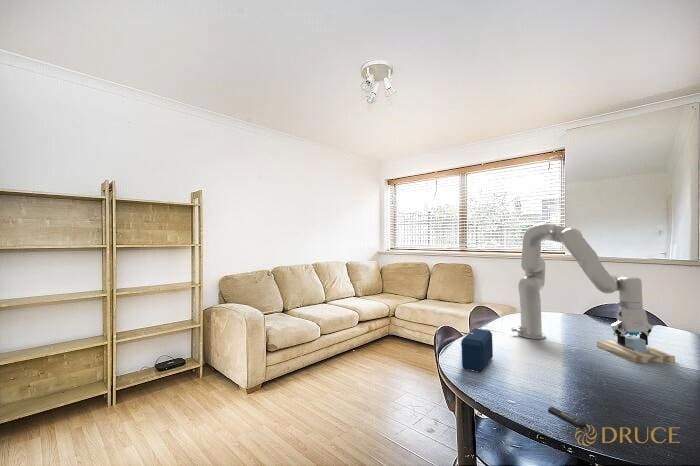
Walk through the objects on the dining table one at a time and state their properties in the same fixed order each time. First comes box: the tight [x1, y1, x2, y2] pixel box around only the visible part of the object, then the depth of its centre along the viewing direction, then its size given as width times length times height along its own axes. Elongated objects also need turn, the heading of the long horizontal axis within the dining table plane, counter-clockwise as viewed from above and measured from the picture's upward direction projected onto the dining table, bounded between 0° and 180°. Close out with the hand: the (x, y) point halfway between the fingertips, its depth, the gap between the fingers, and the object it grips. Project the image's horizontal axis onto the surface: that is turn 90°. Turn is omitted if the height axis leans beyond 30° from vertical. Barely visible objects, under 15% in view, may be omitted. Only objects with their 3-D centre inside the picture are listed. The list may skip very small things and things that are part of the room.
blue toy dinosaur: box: [613, 327, 640, 337], centre depth 159 cm, size 11×6×10 cm
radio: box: [461, 327, 494, 373], centre depth 128 cm, size 21×9×20 cm, turn 145°
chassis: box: [596, 339, 676, 364], centre depth 135 cm, size 16×20×3 cm
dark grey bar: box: [547, 406, 587, 429], centre depth 88 cm, size 10×3×2 cm, turn 23°
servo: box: [617, 334, 650, 352], centre depth 135 cm, size 5×11×7 cm, turn 178°
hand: (632, 344), depth 136 cm, fingers open, 9 cm apart
